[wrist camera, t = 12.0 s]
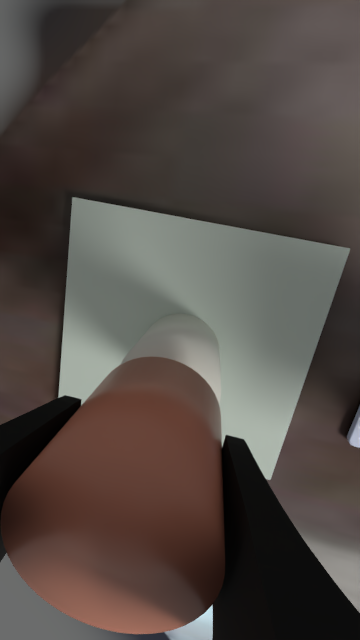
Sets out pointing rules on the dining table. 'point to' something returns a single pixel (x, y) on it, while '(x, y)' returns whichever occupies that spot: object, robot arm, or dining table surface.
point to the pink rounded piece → (127, 504)
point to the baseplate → (199, 307)
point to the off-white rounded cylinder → (183, 346)
